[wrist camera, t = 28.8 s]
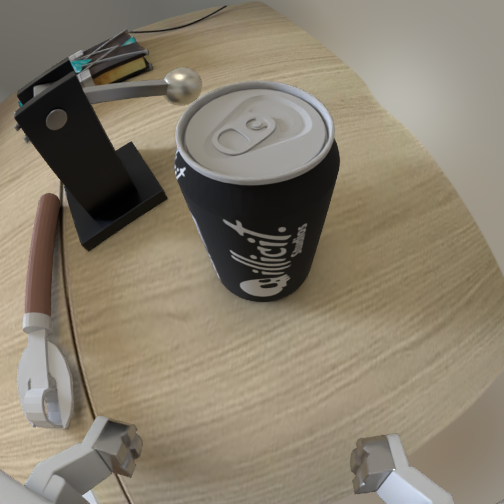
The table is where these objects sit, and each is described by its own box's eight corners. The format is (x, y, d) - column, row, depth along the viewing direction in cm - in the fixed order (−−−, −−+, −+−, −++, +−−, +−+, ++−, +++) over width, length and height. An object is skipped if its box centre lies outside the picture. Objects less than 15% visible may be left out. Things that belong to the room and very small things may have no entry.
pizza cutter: (25, 220, 24) (9, 205, 21) (68, 198, 24) (53, 180, 22) (39, 430, 15) (14, 431, 12) (93, 425, 16) (69, 428, 13)
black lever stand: (135, 149, 26) (87, 40, 15) (167, 198, 23) (108, 65, 12) (69, 193, 25) (0, 99, 13) (88, 251, 22) (-11, 149, 10)
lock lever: (186, 95, 23) (194, 62, 20) (204, 110, 21) (214, 75, 19) (35, 118, 15) (34, 78, 13) (36, 137, 14) (33, 93, 12)
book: (131, 43, 41) (124, 22, 36) (156, 69, 34) (148, 40, 29) (29, 101, 36) (18, 82, 32) (24, 146, 30) (7, 123, 25)
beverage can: (329, 261, 20) (381, 128, 9) (259, 325, 19) (243, 233, 8) (265, 203, 23) (260, 62, 12) (197, 256, 21) (134, 127, 10)
